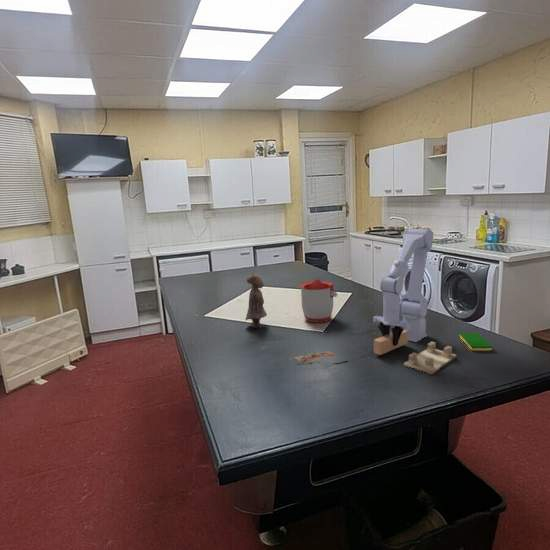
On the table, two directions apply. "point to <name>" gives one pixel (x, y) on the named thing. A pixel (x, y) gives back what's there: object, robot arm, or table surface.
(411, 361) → the birch rack
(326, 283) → the citrus juicer
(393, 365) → the table surface
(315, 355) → the bark
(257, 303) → the clay figurine
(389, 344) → the clay strip
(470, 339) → the dish sponge
